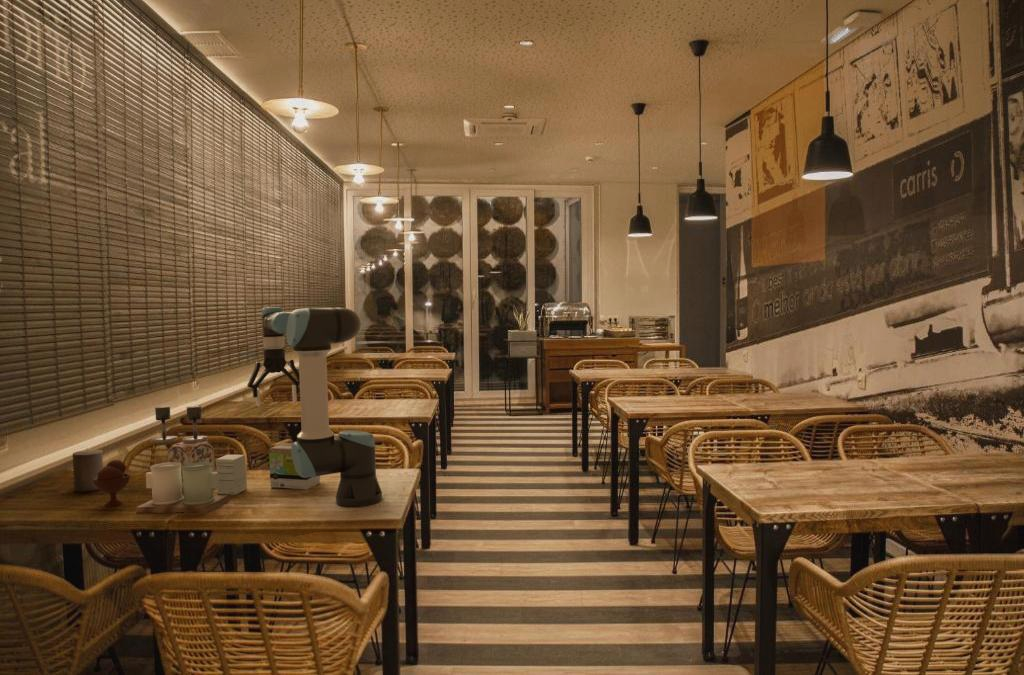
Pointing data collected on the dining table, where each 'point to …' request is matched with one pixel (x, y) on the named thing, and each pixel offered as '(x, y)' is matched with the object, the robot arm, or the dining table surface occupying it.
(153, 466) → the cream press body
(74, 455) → the pillar candle
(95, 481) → the ice cream bowl
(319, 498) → the dining table surface
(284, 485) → the tea box
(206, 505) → the walnut board
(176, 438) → the cream press plunger
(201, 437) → the sage plunger
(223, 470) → the supplement box
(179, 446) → the decorative jar
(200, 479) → the sage press body
